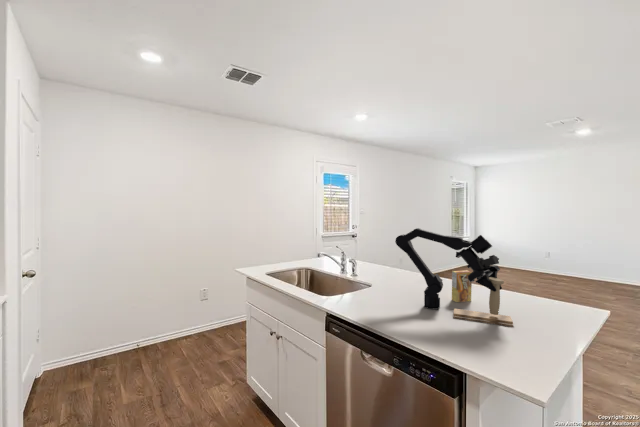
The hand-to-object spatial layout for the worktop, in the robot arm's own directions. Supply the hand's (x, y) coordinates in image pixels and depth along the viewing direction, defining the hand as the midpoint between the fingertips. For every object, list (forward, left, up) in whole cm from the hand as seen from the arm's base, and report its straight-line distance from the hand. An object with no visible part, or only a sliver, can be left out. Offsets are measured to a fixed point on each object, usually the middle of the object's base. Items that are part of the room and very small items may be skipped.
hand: (498, 290), depth 124 cm
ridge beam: (-6, +1, -13) cm, 15 cm away
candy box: (-14, +24, -13) cm, 31 cm away
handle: (-2, +1, -11) cm, 11 cm away
